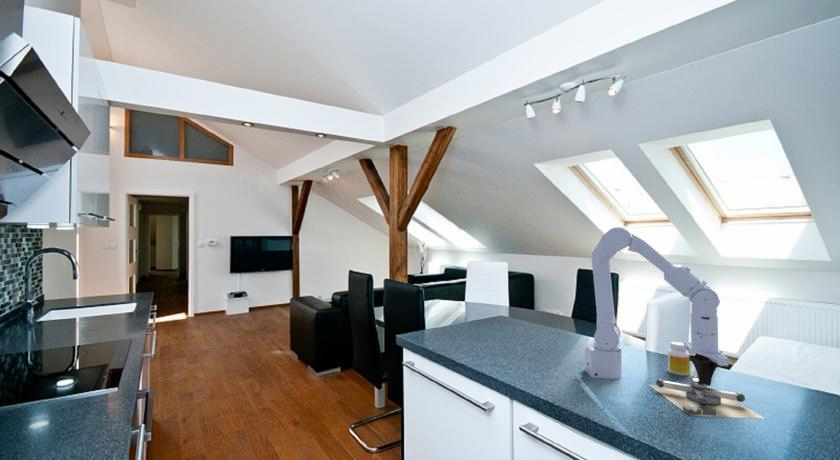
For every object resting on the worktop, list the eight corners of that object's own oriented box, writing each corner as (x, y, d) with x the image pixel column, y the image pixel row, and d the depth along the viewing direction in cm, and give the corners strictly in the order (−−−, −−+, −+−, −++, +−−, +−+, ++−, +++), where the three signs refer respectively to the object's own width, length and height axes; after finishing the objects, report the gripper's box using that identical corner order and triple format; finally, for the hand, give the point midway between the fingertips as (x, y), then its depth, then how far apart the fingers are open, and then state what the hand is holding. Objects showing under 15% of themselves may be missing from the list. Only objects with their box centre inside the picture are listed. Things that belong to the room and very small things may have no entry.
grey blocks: (688, 414, 87) (688, 406, 87) (682, 410, 89) (682, 402, 89) (716, 415, 86) (716, 407, 86) (710, 411, 88) (710, 403, 88)
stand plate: (689, 420, 86) (689, 415, 86) (648, 388, 104) (648, 384, 104) (765, 424, 85) (765, 418, 85) (710, 391, 103) (710, 386, 103)
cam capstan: (753, 422, 83) (753, 405, 83) (656, 403, 92) (656, 388, 93) (737, 393, 99) (737, 379, 99) (655, 379, 108) (655, 366, 108)
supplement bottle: (693, 380, 111) (693, 346, 111) (672, 378, 112) (672, 345, 112) (684, 373, 116) (684, 341, 116) (664, 372, 117) (664, 340, 117)
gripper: (741, 340, 93) (742, 396, 93) (702, 326, 107) (703, 375, 107) (710, 339, 94) (711, 395, 93) (675, 326, 108) (676, 374, 108)
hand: (704, 384), depth 100 cm, fingers closed, pressing on cam capstan
